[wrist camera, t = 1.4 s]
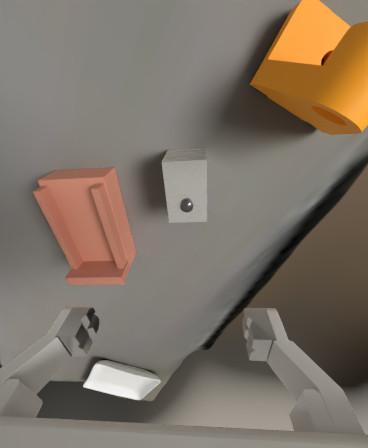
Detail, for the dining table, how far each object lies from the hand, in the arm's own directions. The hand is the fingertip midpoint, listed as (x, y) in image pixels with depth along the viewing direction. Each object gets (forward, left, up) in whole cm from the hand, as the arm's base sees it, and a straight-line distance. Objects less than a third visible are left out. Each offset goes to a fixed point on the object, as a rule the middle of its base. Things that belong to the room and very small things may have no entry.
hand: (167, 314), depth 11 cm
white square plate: (+68, -26, -22) cm, 76 cm away
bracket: (-11, +14, -22) cm, 28 cm away
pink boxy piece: (+6, -15, -22) cm, 27 cm away
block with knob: (0, 0, -22) cm, 22 cm away
